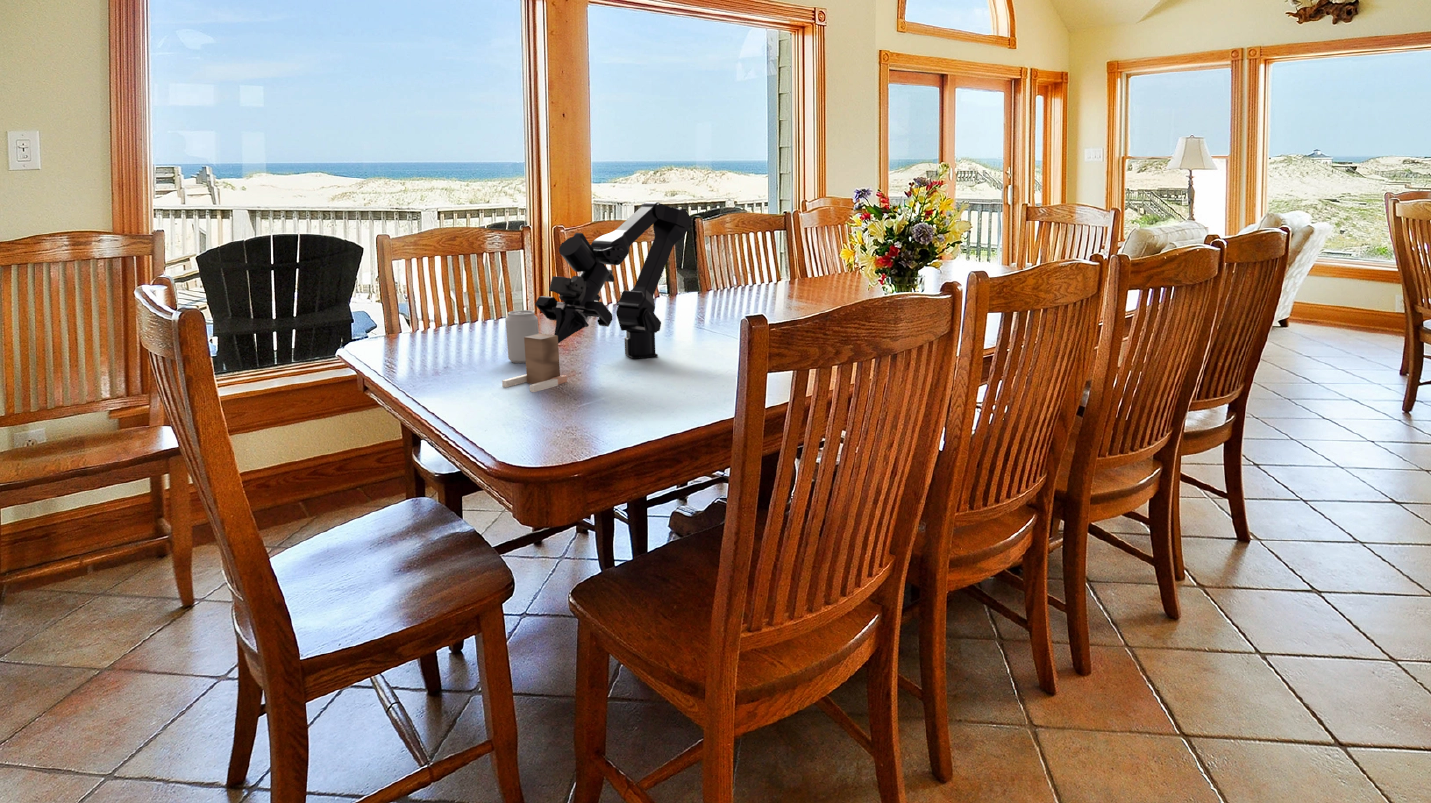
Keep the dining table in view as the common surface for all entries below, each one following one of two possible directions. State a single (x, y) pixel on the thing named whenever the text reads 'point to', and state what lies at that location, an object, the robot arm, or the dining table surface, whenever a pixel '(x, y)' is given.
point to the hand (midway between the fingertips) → (555, 341)
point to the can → (519, 333)
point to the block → (541, 357)
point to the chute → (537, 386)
